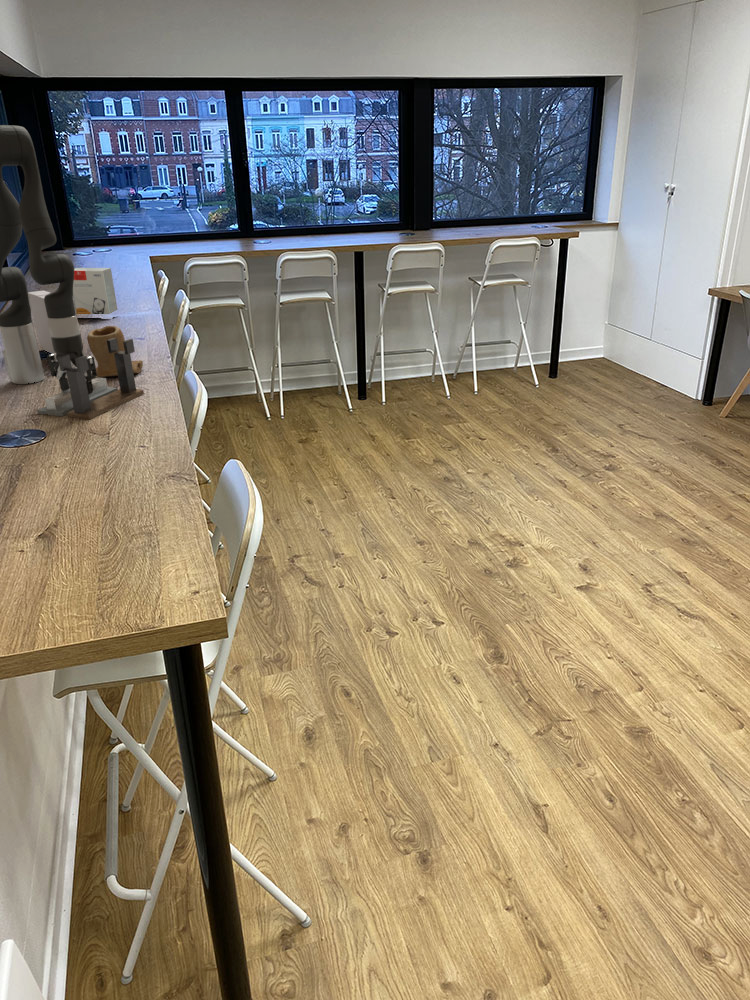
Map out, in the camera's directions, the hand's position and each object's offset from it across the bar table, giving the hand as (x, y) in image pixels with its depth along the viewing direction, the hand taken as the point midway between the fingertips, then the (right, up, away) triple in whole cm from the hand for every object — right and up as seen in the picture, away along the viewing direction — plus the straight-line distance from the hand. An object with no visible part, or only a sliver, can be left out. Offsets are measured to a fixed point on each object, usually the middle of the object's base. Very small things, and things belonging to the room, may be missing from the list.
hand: (77, 392), depth 207 cm
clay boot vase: (+3, +9, +26) cm, 27 cm away
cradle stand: (+9, -4, -2) cm, 10 cm away
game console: (-26, +20, +52) cm, 62 cm away
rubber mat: (0, -2, +1) cm, 3 cm away
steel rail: (0, -2, +1) cm, 2 cm away
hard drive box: (-35, +47, +110) cm, 125 cm away
